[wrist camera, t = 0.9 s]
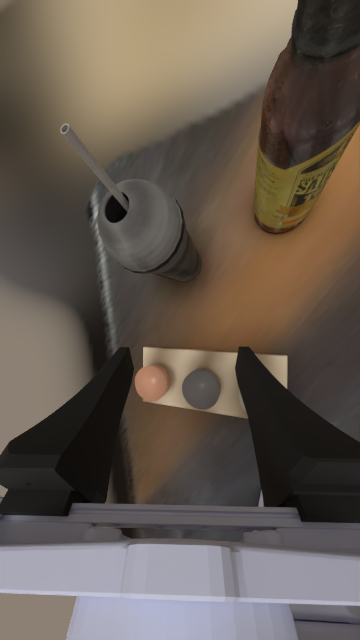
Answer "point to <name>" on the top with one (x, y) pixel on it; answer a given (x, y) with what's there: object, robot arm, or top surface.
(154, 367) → the terracotta button
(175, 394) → the button board
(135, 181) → the beverage cup
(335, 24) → the sauce bottle
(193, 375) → the charcoal button
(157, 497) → the top surface
